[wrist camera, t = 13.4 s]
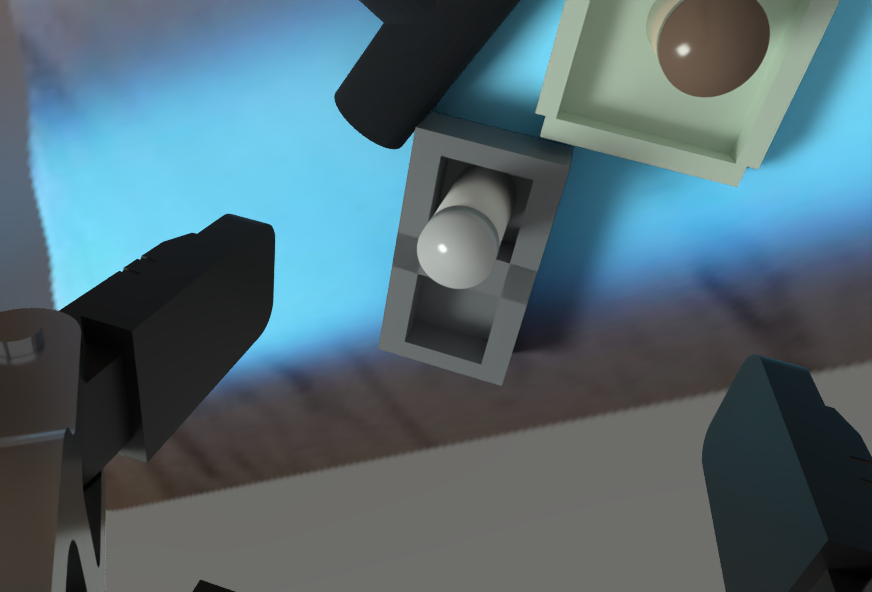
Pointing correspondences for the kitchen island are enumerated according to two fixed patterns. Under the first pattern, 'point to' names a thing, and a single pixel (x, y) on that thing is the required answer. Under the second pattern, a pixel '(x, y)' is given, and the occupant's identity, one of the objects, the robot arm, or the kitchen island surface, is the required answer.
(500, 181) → the cylinder
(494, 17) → the pipe connector
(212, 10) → the kitchen island surface
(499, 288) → the fuse block
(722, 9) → the cylinder
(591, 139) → the parts tray
